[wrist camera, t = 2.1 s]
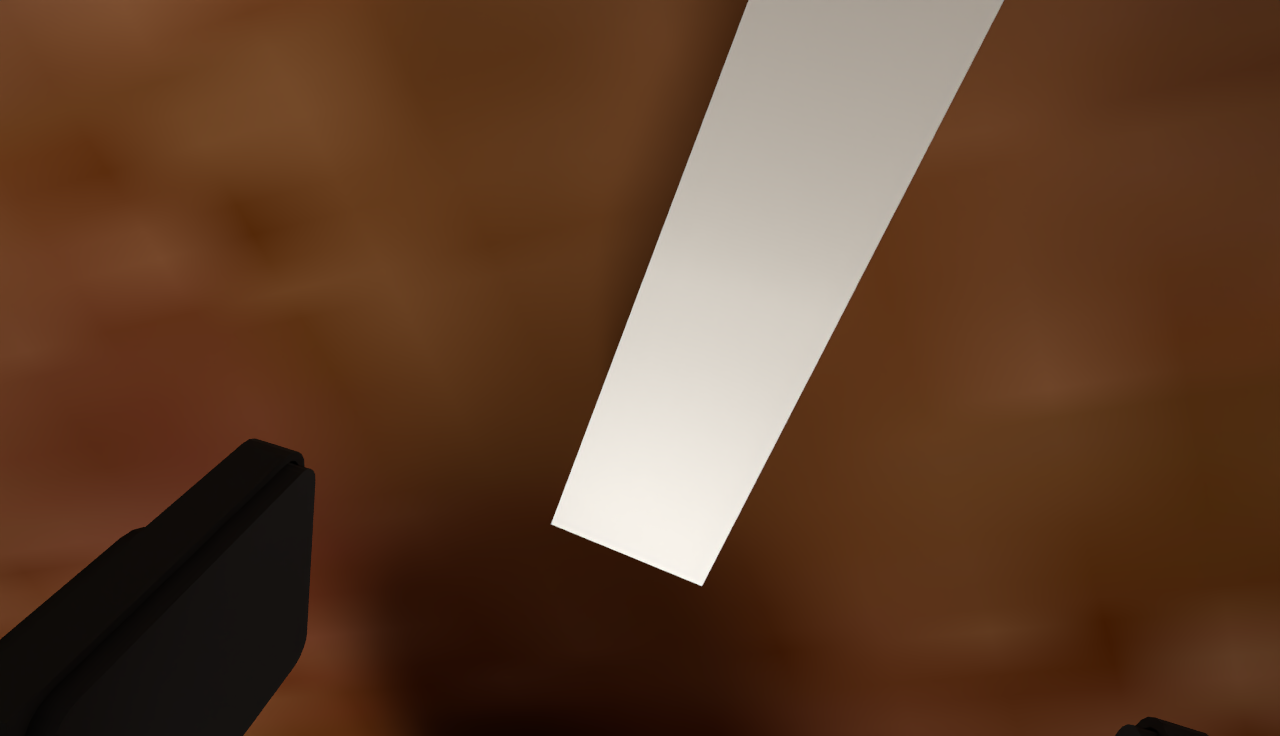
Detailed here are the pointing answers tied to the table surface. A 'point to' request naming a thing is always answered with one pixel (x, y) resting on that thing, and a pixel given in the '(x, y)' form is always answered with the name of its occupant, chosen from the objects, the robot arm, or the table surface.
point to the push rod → (760, 261)
